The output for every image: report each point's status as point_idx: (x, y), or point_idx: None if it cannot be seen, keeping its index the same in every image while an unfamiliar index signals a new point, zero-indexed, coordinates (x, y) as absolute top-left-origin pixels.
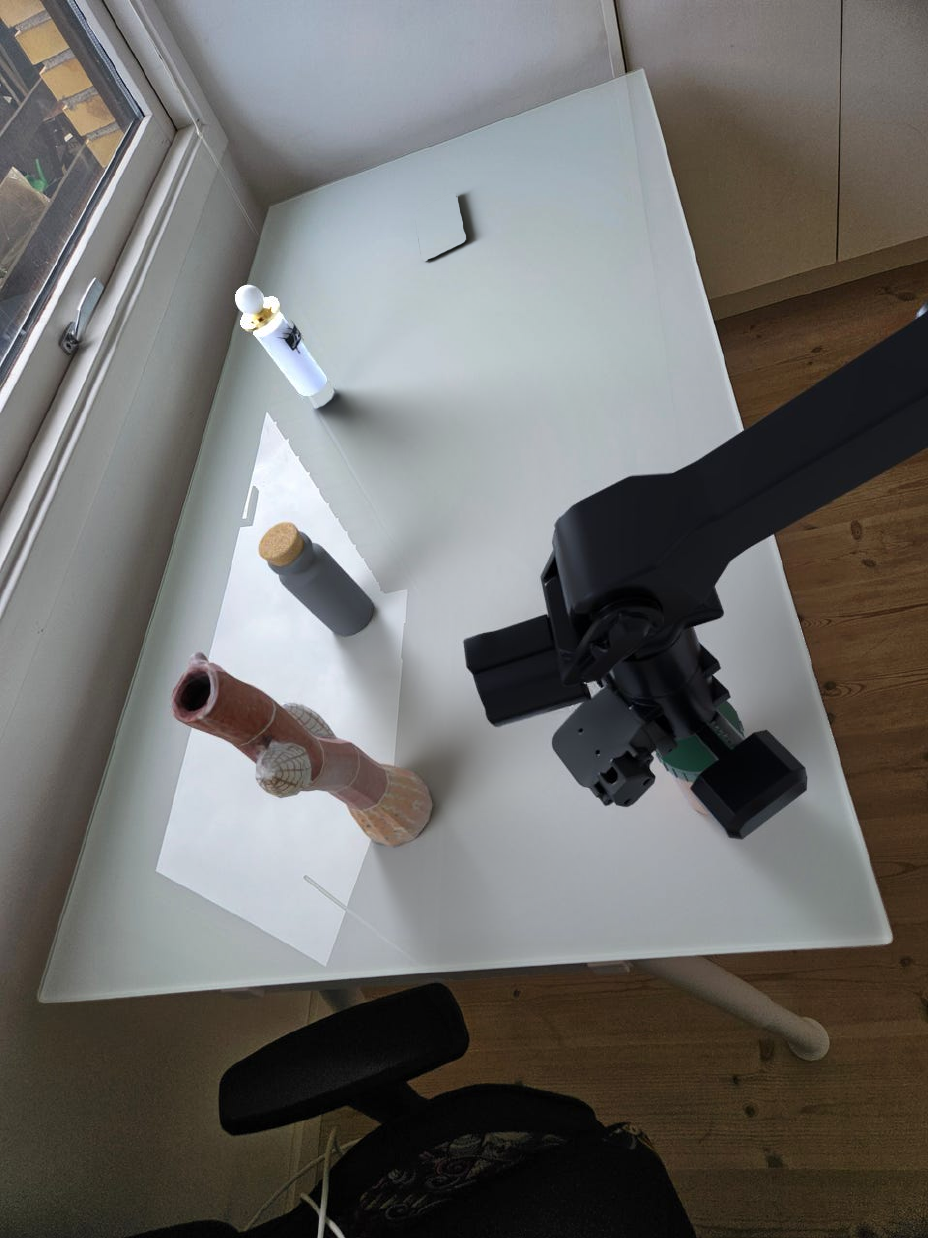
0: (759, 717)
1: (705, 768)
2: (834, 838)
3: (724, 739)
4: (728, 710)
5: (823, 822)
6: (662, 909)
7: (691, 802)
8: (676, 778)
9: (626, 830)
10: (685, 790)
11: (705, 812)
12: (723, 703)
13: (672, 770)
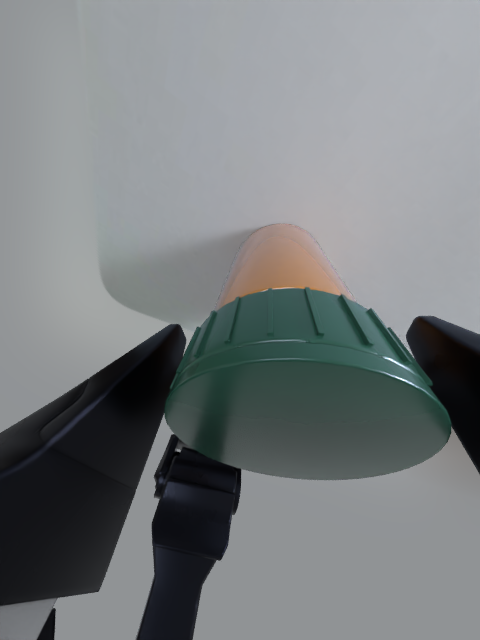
0: None
1: (170, 411)
2: (178, 317)
3: (222, 451)
4: (274, 472)
5: (193, 318)
6: (145, 64)
7: (262, 234)
8: (267, 270)
9: (307, 75)
10: (258, 254)
11: (247, 239)
12: (294, 476)
13: (224, 340)
